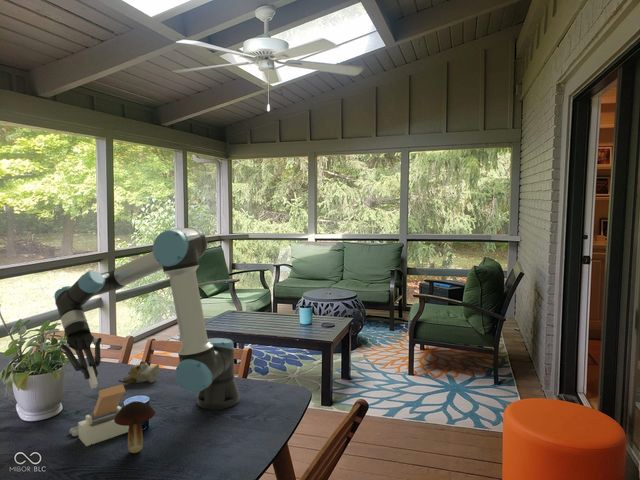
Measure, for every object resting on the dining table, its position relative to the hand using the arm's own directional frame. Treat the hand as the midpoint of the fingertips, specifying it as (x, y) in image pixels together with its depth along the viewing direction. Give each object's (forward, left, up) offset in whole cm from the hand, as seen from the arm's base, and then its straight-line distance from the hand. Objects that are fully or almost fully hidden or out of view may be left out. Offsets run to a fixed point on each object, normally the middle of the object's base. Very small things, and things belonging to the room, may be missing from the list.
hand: (94, 386), depth 149 cm
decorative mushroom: (-20, +16, -13) cm, 29 cm away
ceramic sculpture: (0, -38, -14) cm, 40 cm away
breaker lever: (-5, +6, -7) cm, 10 cm away
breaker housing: (-4, +5, -13) cm, 14 cm away
